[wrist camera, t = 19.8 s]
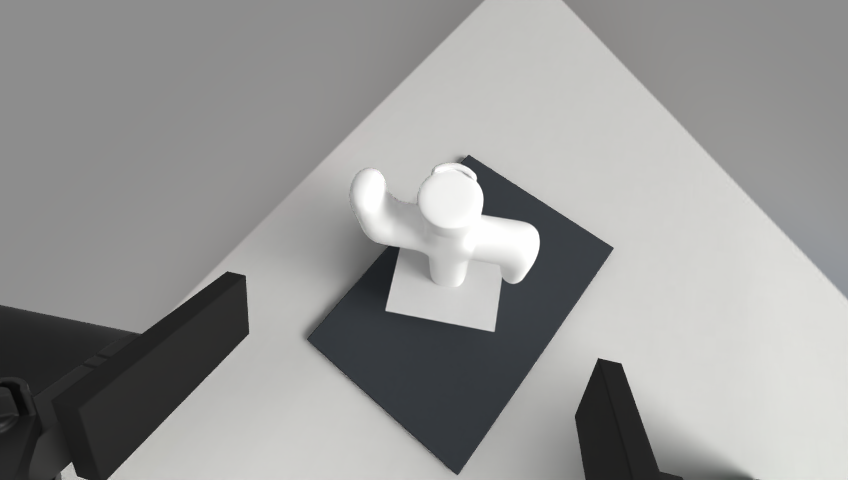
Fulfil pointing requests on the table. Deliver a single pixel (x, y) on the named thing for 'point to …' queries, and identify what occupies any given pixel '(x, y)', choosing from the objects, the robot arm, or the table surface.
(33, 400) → the robot arm
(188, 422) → the table surface
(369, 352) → the mat
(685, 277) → the table surface
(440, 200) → the figurine
